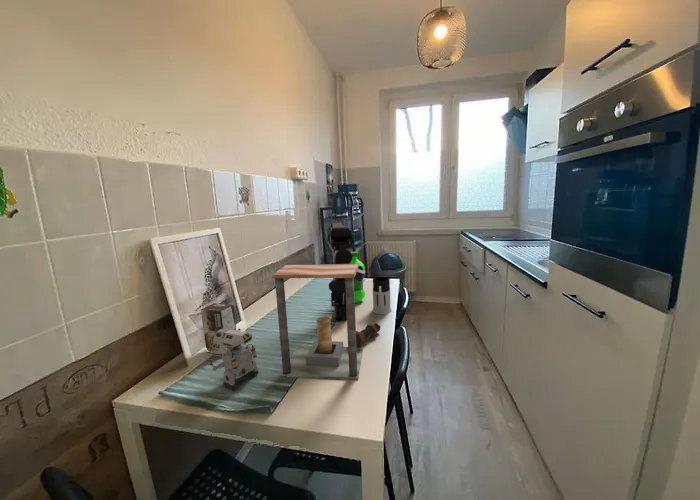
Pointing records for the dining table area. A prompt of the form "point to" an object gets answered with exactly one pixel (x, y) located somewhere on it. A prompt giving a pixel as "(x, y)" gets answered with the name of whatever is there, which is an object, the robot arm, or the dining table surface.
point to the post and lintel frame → (297, 362)
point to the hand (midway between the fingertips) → (343, 302)
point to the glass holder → (381, 295)
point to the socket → (325, 355)
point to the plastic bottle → (358, 285)
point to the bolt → (366, 333)
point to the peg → (324, 335)
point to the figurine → (235, 355)
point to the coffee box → (217, 324)
